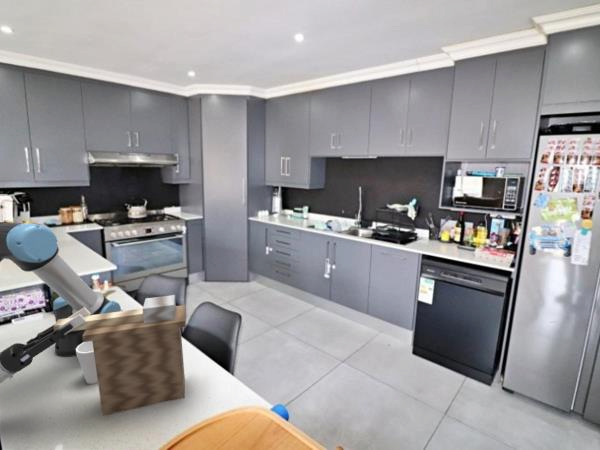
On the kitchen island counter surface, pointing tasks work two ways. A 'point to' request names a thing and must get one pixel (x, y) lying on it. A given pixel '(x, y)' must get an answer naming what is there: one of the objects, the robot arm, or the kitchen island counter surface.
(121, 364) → the walnut stand
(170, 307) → the mallet
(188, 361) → the kitchen island counter surface
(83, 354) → the foam cup
